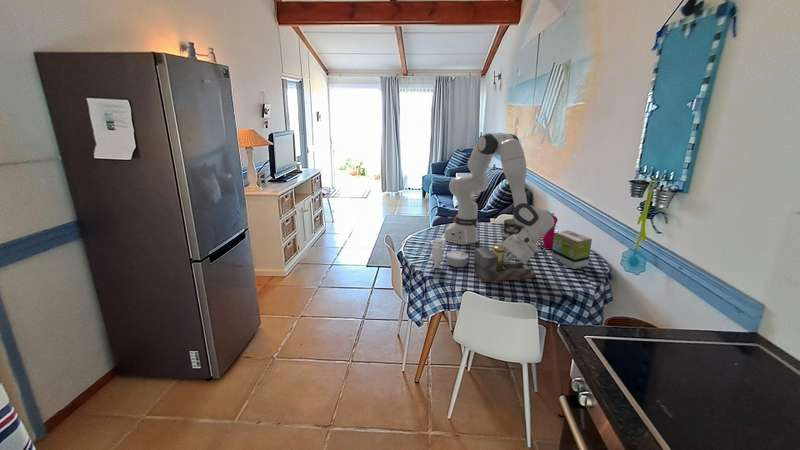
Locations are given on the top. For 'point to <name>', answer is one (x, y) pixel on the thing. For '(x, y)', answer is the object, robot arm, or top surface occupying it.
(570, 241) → the tea box
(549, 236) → the pepper mill
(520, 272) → the rail mount
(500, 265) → the knob
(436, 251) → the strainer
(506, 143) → the robot arm
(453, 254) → the ramekin
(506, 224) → the coffee can
